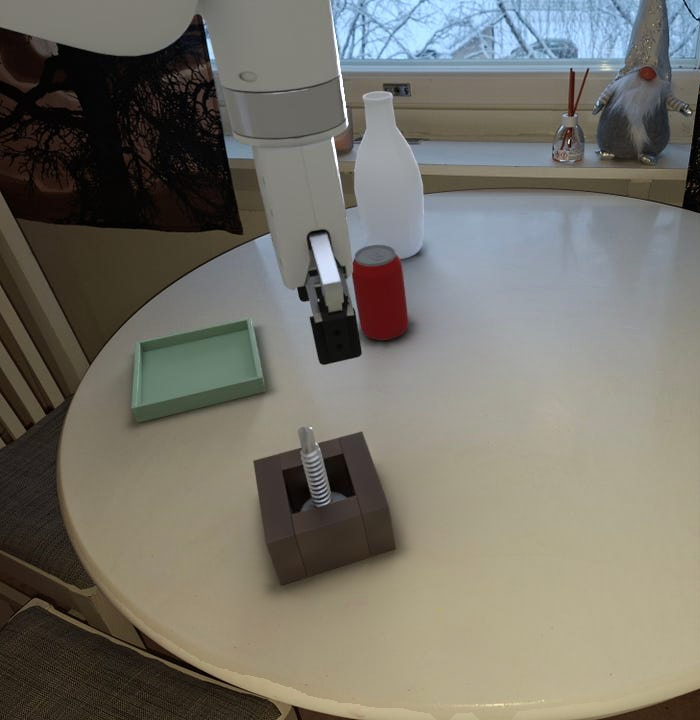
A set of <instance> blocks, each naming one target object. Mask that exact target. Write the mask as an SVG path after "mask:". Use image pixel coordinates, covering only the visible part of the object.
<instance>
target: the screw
mask: <svg viewBox="0 0 700 720" xmlns="http://www.w3.org/2000/svg"><path fill="white" fill-rule="evenodd" d="M297 435H298V439H299V443H300V446H301V447H300V448H302V450H301V452H300V454H301V455H302V456H301V460H302V464H303V465H304V470H305V474H306V478H307V482H308V486H309V490H310V492H311V496H312V498H310V499H309V500H308V501H307V502H306V503H305V504H304V505H303V507H302V509H301V510H300V512H302V511H306V510H309V509H312V508H316V507H319V506H323V505H326V504H329V503H333V502H336V501H340V500H343V499H346V498H347V496H346V497H345V496H344V495H342V494H340V493H337V492H331V490H330V486H329V482H328V478H327V474H326V469H325V467H324V466H325V465H324V463H323V458H322V454H321V450H320V448H319V445H318V444H317V443H318V442H316V438H315V434H314V430H313V428H312V427H310V426H301V427H300V428H299V429H298V430H297Z"/></svg>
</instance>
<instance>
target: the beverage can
mask: <svg viewBox="0 0 700 720" xmlns="http://www.w3.org/2000/svg"><path fill="white" fill-rule="evenodd" d="M353 256H354V257H353V259H352V263H353V273H352V274H351V277H352V284H353V290H354V296H355V303H356V309H357V315H358V320H359V325H360V330H361V333H362V334H363V335H365V336H366V337H368V338H371V339H375V340H378V341H379V340H380V341H386V340H387V341H388V340H391V339H394V338H397V337H399V336H400V335H402V334H404V332H406V330H407V329H408V327H409V315H408V305H407V304H408V303H407V296H406V295H407V294H406V287H405V279H404V278H405V277H404V271H403V263H402V259H399V257H398V256H397V255H396V253H395V250H394V249H393V248H391V247H389V246H385V245H371V246H368V245H366V246H363V247H361V248H360V249H358V250H356V252H355V253H354V255H353Z"/></svg>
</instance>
